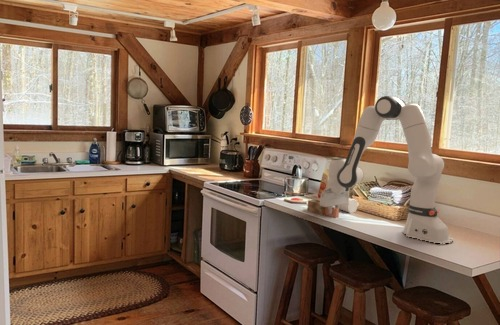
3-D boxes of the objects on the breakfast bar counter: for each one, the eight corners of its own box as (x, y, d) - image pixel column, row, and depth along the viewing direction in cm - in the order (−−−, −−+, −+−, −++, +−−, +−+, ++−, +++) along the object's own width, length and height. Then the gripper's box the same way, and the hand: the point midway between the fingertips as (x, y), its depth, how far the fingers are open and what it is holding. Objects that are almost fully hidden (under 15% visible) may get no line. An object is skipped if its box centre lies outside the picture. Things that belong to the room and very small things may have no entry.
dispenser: (331, 213, 246) (332, 202, 245) (320, 215, 240) (321, 204, 239) (318, 209, 253) (318, 199, 252) (307, 211, 247) (308, 200, 247)
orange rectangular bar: (338, 217, 238) (339, 209, 237) (335, 217, 237) (336, 209, 236) (317, 211, 249) (317, 203, 249) (314, 211, 248) (315, 203, 247)
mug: (347, 213, 248) (348, 199, 247) (334, 209, 256) (335, 196, 255) (361, 212, 255) (363, 198, 253) (348, 208, 263) (349, 194, 262)
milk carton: (316, 198, 285) (319, 167, 282) (328, 197, 288) (331, 167, 286) (324, 201, 276) (327, 169, 274) (336, 201, 280) (339, 169, 278)
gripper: (327, 190, 228) (324, 216, 230) (351, 187, 242) (349, 212, 243) (317, 188, 233) (315, 213, 235) (342, 185, 246) (340, 210, 248)
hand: (333, 213), depth 239 cm, fingers closed on orange rectangular bar, 2 cm apart
